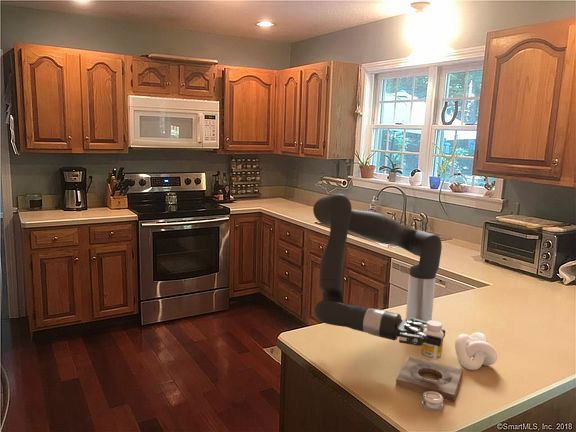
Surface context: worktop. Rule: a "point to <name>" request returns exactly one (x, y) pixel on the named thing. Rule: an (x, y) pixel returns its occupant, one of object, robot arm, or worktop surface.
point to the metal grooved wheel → (432, 401)
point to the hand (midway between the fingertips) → (442, 338)
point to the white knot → (474, 351)
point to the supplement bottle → (427, 349)
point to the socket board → (415, 382)
